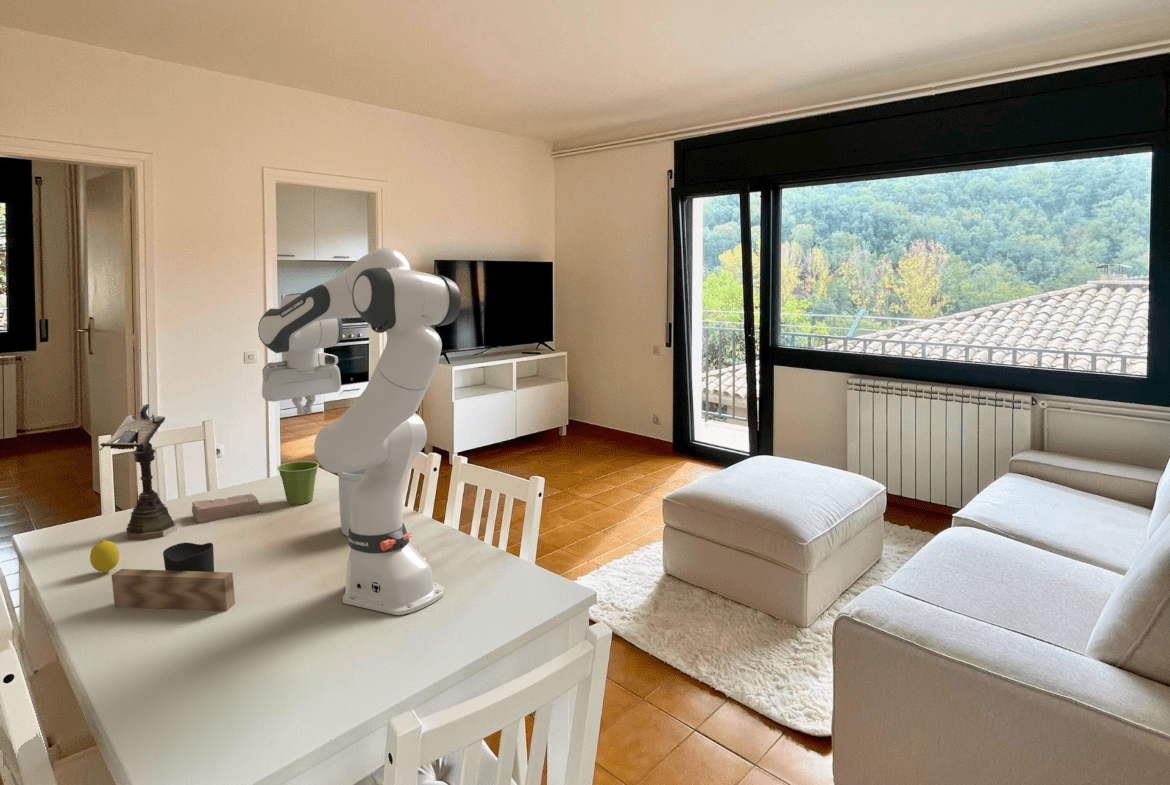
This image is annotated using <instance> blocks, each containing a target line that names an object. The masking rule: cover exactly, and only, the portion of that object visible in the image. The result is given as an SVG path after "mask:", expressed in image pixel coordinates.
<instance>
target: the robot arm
mask: <svg viewBox="0 0 1170 785" xmlns="http://www.w3.org/2000/svg"><path fill="white" fill-rule="evenodd" d="M280 300H281V301H280V306H279V308H269V309H268V310H267V311H265V313H264V314H263V315H262V316H261V318H260V320H259V322H258V327H257V330H258V336H259V337H258V338H259V339H260V342H261V343H262V344H263V345H264V346H265V347H267V349H269V350H270V351H272V352H274V353H275V354H281V361H276V362H271V361H270V362H268V363H267V364H266V365H264V367H263V368H262V386H261V395H262V398H263V400H265V401H267V402H273V403H274V402H279V401H281V402H282V401H286V400H292V401H291V402H292V403H293V406H295V408H296V412H297V415H298V416H304V415H310V414H312V412H313V410H312V407H313V405H314V403H315V401H316V396H319V395H326V394H331V393H338V392H339V391H340V389H341V388H342V381H341V380H342V379H341V370H340V368H339V366H338V363H339V357H338V356H337V355H335V354H331V353H330V354H329V353H326V352H323V351H321V349H327V348H332V347H335V346H336V345H337V344H338V343H339V342H340V340H341V339H342V337H343V333H344V332H343V321H342V319H352V318H353V319H355V318H357V319H358V318H362V320H363V321H365V322H366V323H367V324H368V325H370V328H371V329H372V331H373V332H374V333H377V334H382V333H386V343H385V347H384V349H383V350H382V353H381V354H380V357H379V359H378V361H377V364H376V366H375V368H374V370H373V372H372V375H371V377H370V379H369V381H368V383H367V385H366V386H365V389H364V390H363V392H361V394H360V395H359V397H358V398H357V399H356V400H355V401H354V402H353V403H352V404H351V406H349V407H348V408H347V409H346V410H345V412H343V413H342V414H341V415H340V416H339V417H337V419H334V421H332V422H330V423H329V424H327V425H325V426H324V427H323V428H321V429H320V430H319V431H317V434H316V437H315V439H314V445H313V450H314V455H315V458H316V460H317V463H318V464H319V466H321V467H322V468H323V469H324V470H326V472H329V473H330V474H331V473H335V474H336V473H344V472H355V471H359V470H363V469H367V470H366V472H365V474H364V476H363V478H362V479H361V481H360V482H359V483H358V484H357V485H356V486H355V487H354V488H353V489H352V491H351V493H350V496H349V514H350V528H349V530H348V536H347V540H348V546H349V548H350V552H349V556H348V560H347V563H346V574H345V575H346V579H345V589H344V594H343V595H342V598H341V599H342V604H345V605H349V606H354V607H359V608H364V609H368V610H370V611H371V610H372V611H377V612H381V613H386V614H390V615H395V616H402V615H406V614H410V613H414V612H417V611H419V610H421V609H424V608H426V607H428V606H429V605H431V604H433V603H435V602H436V601H438V600H439V599H441V598H442V597H443V596H444V594H445V593H446V591H445V590H446V589H445V587H444V586H443V585H441V584H440V583H438V582H436V581H434V574H433V571H432V567H431V565H430V564H429V562H428V559H427V558H426V557H425V556H421V554H420V553H419V552H418V551H417V550H416V548H414V546H413V545H412V544H411V543H410V538H412V537H413V536H412V534H413V532H412V531H410V532H408V531H407V527H406V526H405V524H404V522H403V498H404V497H403V494H404V493H403V492H404V487H405V483H406V479H407V477H408V476H407V475H408V474H409V471H410V468H411V465H412V464H413V462H414V460H415V459H416V457H417V456H418V455H419V453H420V452H421V451H422V450H423V448H425V445H426V442H427V438H428V436H427V435H428V431H427V427H426V425H425V422H424V421H423V419H422V417H420V416H419V415H418V414H417V411H418V409H419V407H420V405H421V403H422V401H423V399H424V398H425V394H426V393H427V391H428V389H429V387H430V385H431V383H432V380H433V379H434V376H435V375H436V374H435V373H436V371H437V368H438V365H439V362H440V359H441V353H442V347H443V343H442V342H443V341H442V338H441V337H440V335H439V333H438V332H437V331H436V330H435V329H434V328H433V327H442V326H446V325H450V324H452V323H453V322H454V321H455V320H456V319H457V318H458V315H459V313H460V310H461V307H462V296H461V291H460V289H459V287H458V285H457V283H456V282H455V281H453V280H452V279H451V278H448V277H446V276H445V275H440V274H437V273H432V272H431V273H430V272H424V271H423V272H422V271H417V270H414V269H411V265H410V263H409V261H408V259H407V258H406V257H405V255H403V254H402V252H400V251H398V250H396V249H394V248H391V247H390V248H389V247H381V248H378V249H376V250H372V251H371V252H369V253H367V254H365V255H363V256H362V257H360V258H359V259H357V260H356V261H354V263H352V264H351V265H350V266H349V267H348V268H346V269H345V270H343V271H341V272H340V273H339V274H337V275H335V276H333V277H332V278H330V279H328V280H326V281H324V282H322V283H320V284H318V285H316V286H314V287H312V288H310V289H308V290H307V291H304V292H301V293H300V292H299V293H289V294H287V295H284V296H283V297H282V298H281V299H280ZM303 398H304V400H306V402H305V404H304V406H303V404H302V403H301V402H303Z"/></svg>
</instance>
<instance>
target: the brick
mask: <svg viewBox="0 0 1170 785" xmlns="http://www.w3.org/2000/svg"><path fill="white" fill-rule="evenodd" d="M260 507H261V506H260V503H259V500H258V498H257V496H255V495H254V494H253V493H246V494H239V495H235V496H230V497H227V498H216V499H206V500H205V499H204V500H196V501H192V502H191V513H192V515H193V517H194V519H195V521H197V522H198V523H200V524H201V523H208V522H209V523H210V522H214V521H221V520H225V519H231V518H236V517H240V516H246V515H250V514H254V513H259V512H260V509H261V508H260Z"/></svg>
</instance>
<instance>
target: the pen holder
mask: <svg viewBox="0 0 1170 785" xmlns="http://www.w3.org/2000/svg"><path fill="white" fill-rule="evenodd" d="M162 555H163V557H162V558H163V562H164V570H170V571H201V572H215V556H214V543H213V542H207V543H203V544H197V543H193V542H181V543H177V544H174V545H171V546H169V547H167V548H166V549H164V550H163V552H162Z"/></svg>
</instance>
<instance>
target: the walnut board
mask: <svg viewBox="0 0 1170 785" xmlns="http://www.w3.org/2000/svg"><path fill="white" fill-rule="evenodd" d="M233 573H234V572H228V571H227V572H225V571H214V572H201V571H170V570H165V569H137V568H136V569H133V568H120V569H119V570H116V571H115V572H114V573H112V574H111V583H112V593H113V603H114V608H143V609H169V610H170V609H171V610H172V609H173V610H194V611H195V610H199V611H203V610H204V611H228V610H229V609H231V608H232V607H234V605H235V604H236V602H235V601H236V599H235V586H234V576H233V575H234V574H233Z"/></svg>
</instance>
